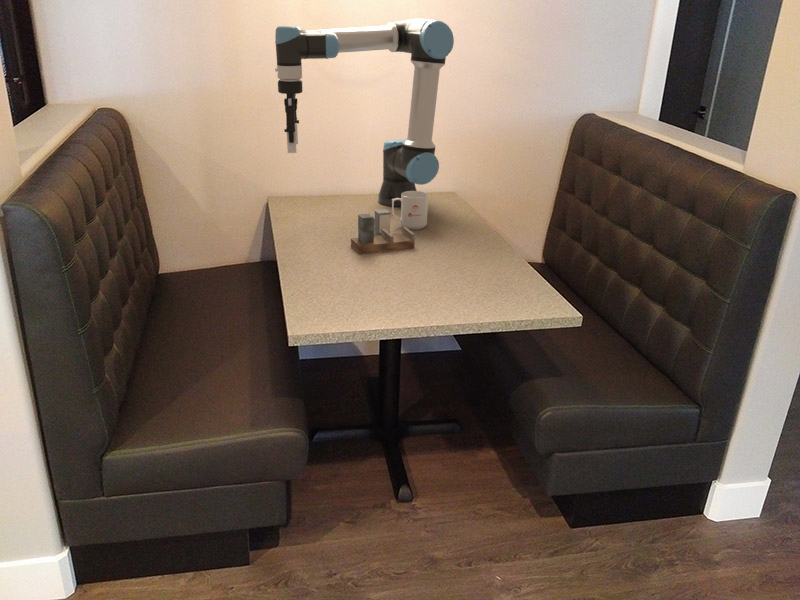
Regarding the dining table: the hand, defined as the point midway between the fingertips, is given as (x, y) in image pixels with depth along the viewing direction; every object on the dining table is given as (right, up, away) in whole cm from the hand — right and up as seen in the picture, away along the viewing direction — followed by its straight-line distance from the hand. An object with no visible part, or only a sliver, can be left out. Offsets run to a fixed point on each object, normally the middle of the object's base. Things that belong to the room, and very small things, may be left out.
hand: (293, 148), depth 228 cm
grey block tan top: (+29, -28, +3) cm, 40 cm away
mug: (+38, -24, +12) cm, 46 cm away
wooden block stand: (+29, -32, -8) cm, 44 cm away
